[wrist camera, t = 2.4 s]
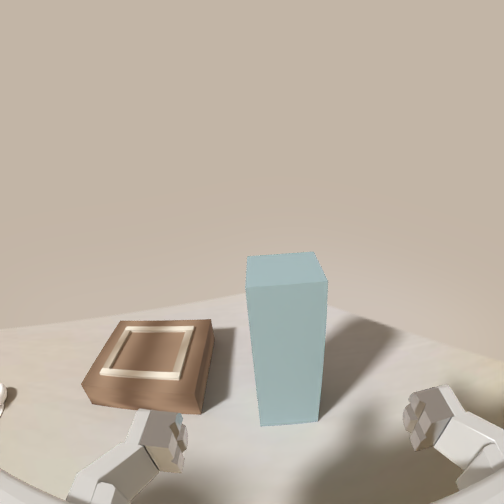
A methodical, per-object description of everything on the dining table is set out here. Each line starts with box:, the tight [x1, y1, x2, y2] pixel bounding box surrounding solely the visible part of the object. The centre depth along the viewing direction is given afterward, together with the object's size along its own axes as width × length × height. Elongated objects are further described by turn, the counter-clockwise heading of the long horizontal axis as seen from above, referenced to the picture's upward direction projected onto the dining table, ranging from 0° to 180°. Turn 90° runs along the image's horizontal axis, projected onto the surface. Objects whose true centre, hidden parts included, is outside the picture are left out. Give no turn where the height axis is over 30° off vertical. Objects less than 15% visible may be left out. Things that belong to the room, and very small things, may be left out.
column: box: [245, 252, 328, 426], centre depth 23 cm, size 5×5×14 cm
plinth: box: [81, 319, 215, 414], centre depth 30 cm, size 12×12×3 cm
